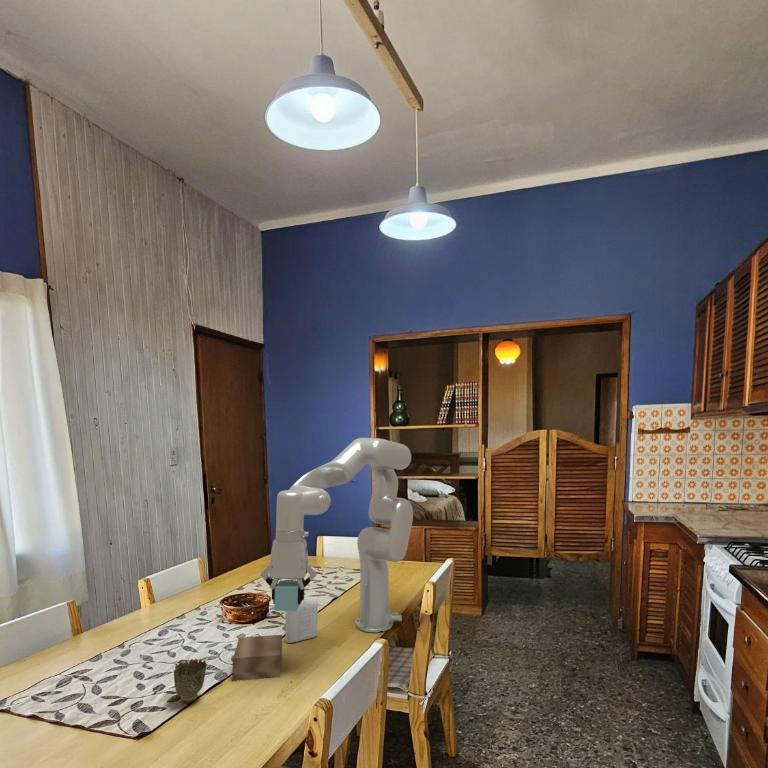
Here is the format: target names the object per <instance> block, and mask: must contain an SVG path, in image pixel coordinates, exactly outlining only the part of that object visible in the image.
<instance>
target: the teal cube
mask: <svg viewBox="0 0 768 768" xmlns="http://www.w3.org/2000/svg"><path fill="white" fill-rule="evenodd" d="M298 590H299V584H298V582H297V580H290V579H279V581H278V583H277V586H276V587H275V604H273V605H274V606H273V607H274V608H273V609H274V612H277V611H278V612H279V611H280V612H286V611H297V609H298V607H299V605H298Z"/></svg>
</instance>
